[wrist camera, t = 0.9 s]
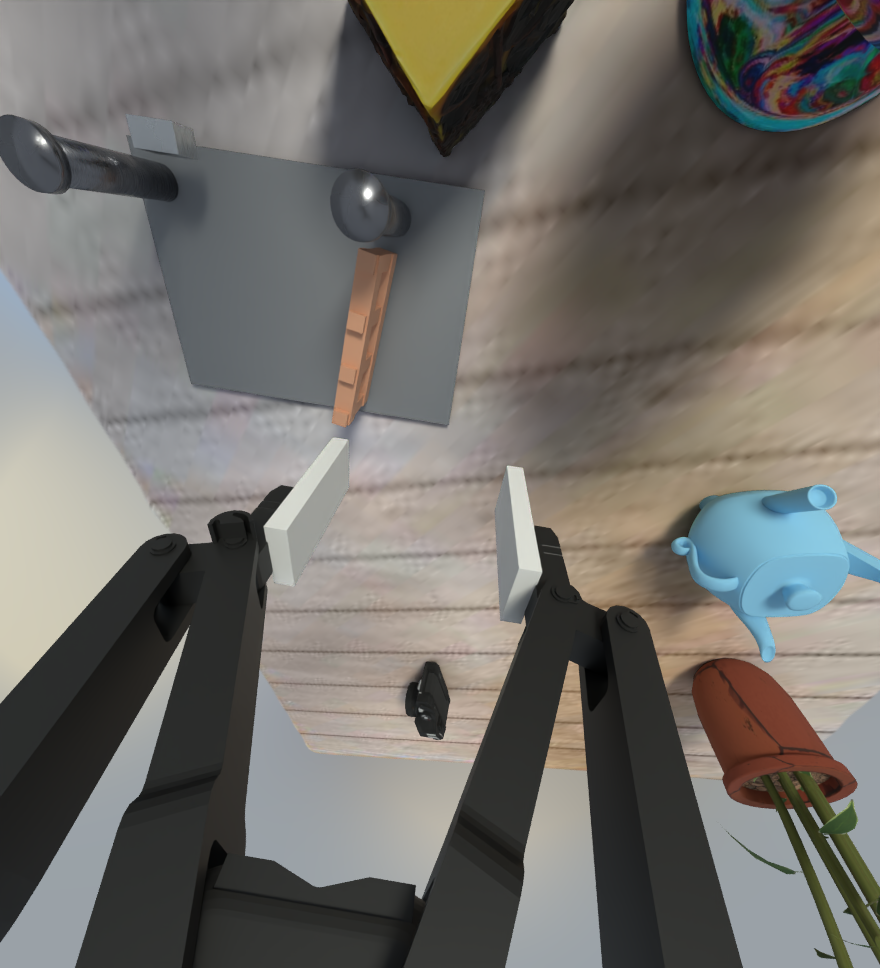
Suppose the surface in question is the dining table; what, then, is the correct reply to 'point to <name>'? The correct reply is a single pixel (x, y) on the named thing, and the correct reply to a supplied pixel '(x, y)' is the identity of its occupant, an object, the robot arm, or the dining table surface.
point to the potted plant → (787, 782)
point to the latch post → (95, 159)
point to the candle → (456, 53)
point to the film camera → (429, 702)
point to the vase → (786, 58)
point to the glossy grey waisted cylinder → (367, 208)
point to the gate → (363, 330)
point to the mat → (309, 281)
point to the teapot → (772, 555)
